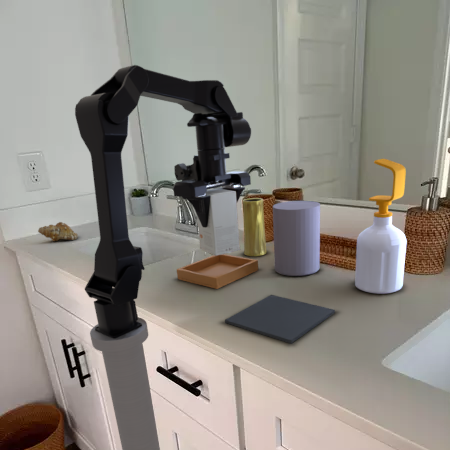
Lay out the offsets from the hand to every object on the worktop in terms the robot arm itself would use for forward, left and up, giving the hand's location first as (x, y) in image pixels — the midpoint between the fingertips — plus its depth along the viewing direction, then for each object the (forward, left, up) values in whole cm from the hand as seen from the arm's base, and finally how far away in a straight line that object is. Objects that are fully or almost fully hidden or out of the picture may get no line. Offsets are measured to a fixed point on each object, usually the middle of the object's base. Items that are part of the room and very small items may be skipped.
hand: (216, 223), depth 95 cm
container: (+13, -12, -13) cm, 22 cm away
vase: (+19, +5, -13) cm, 23 cm away
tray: (+1, +2, -13) cm, 13 cm away
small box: (0, 0, -6) cm, 6 cm away
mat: (-11, -24, -13) cm, 30 cm away
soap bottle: (+12, -32, -13) cm, 37 cm away
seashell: (0, +75, -13) cm, 76 cm away
